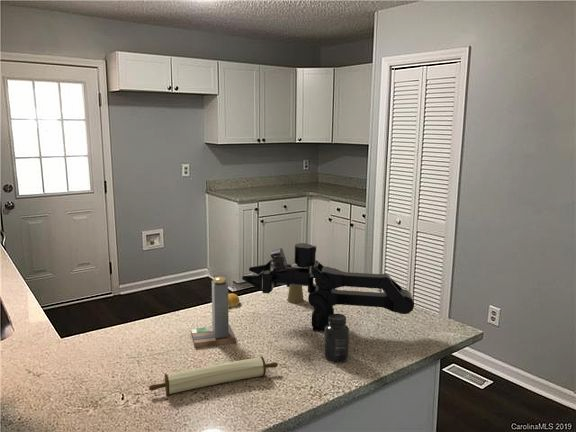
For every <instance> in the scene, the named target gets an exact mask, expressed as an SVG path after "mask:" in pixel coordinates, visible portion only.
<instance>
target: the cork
mask: <svg viewBox="0 0 576 432" xmlns="http://www.w3.org/2000/svg"><path fill="white" fill-rule="evenodd" d="M286 300H287V302H288V303H290V304H294V303H295V304H297V305H298V304H302V303H304V301H305V300H304V292H303V286H298V285H290V287H288V293H287V299H286Z"/></svg>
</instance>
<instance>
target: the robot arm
mask: <svg viewBox="0 0 576 432" xmlns="http://www.w3.org/2000/svg"><path fill="white" fill-rule="evenodd" d="M316 252H317V245H312V244H310V243H306V242H302V243H301V242H299V243H295V244H294V257H293V258H294V259H293V260H294V264H295V265H296V266H293V265H292V264H291V263H288V262H287V259H286V256H285V252H284V250H283V248H282V247H280V248H276V249H274V250H272V251H271V252H270V258H271V259H269V260H268V261H267V263H264V264H260V265H254V266H249V268H248V271H249V272H251V273H254V274H248V275H247V274H246V275H242V278H241V279H242V280H243V281H244V282H246V283H248V284H249V285H252V286H253V287H255V288H257V289H258V290H260V292H262V294H268V295H269V294H270V293H271V292H272V291H273V290H274V287H277V286H279V285H281V286H282V285H283V286H284V285H285V286H286V287H287V288H289V287H290V285H298V286H302V287H307V293H308V298H307V301H308V303H309V305H310V306H311V307H312V308H313V311H312V313H311V327H312V331H315V332H325V327H326V325H328V324H329V323H328V320H329V315H331V314H335V307H334V306H337V305H339V306H340V305H342V306H355V307H357V306H358V307H367V308H368V307H371V308H383V309H386V310H388V311H390V312H392V313H396V314H402V315H408V314H410V313H411V312H413V310H414V308H415V302H414V298H413V296H412V294H411V292H410V291H409V290H407V289H404V288H402V286H400V284H398V283H397V282H396V281H395V280H394V279H392V278H391V276H390V274H387V273H368V272H367V273H365V272H351V271H350V272H349V271H342V270H340V269H337V268H335V267H330V266H324V265H323V264H322V263H320V261H318V260H317V259H316V258H317V257H316V256H317V254H316ZM342 287H349V288H350V287H351V288H363V289H365V288H366V289H379V290H382V291H383V292H378V291H375V292H374V291H359V290H342V289H338V288H342Z"/></svg>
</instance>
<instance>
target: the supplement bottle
mask: <svg viewBox="0 0 576 432" xmlns="http://www.w3.org/2000/svg"><path fill="white" fill-rule="evenodd" d="M328 323H329V324H328V325H326V327H325V331H324V342H323V343H324V344H323V345H324V346H323V348H324V349H323V351H324V352H323V354H324V358H325V359H326V360H327V361H329V362H332V363H343V362H346V361H348V360H349V355H350V328H349V326H348V325H347V316H346V315H344V314H343V313H342V314H341V313H334V314H331V315H329V320H328Z"/></svg>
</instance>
